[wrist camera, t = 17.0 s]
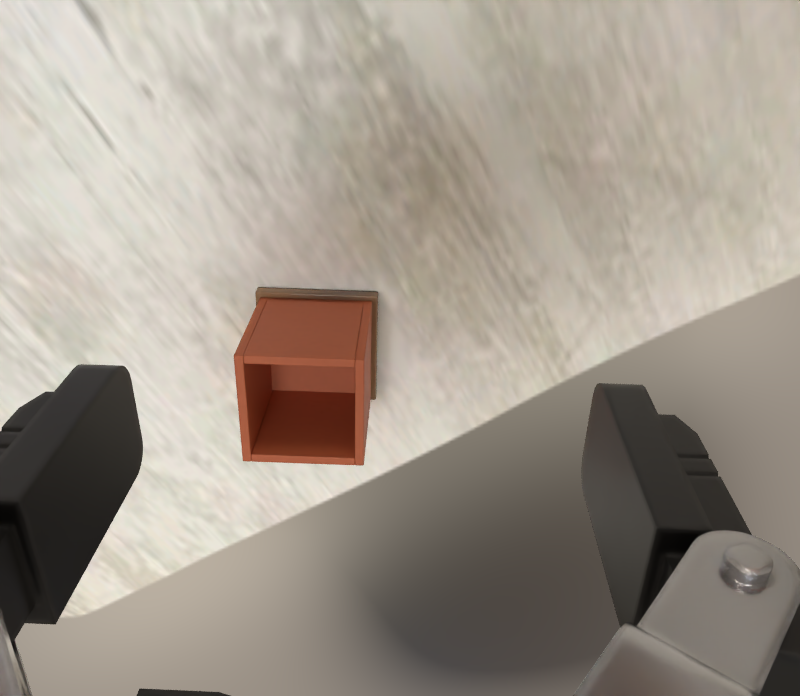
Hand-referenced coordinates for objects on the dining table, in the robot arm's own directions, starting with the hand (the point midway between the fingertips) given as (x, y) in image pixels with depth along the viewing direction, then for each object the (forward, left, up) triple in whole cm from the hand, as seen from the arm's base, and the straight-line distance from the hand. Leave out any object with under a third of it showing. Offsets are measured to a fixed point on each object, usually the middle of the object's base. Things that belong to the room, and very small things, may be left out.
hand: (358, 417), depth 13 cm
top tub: (+4, +11, -22) cm, 25 cm away
